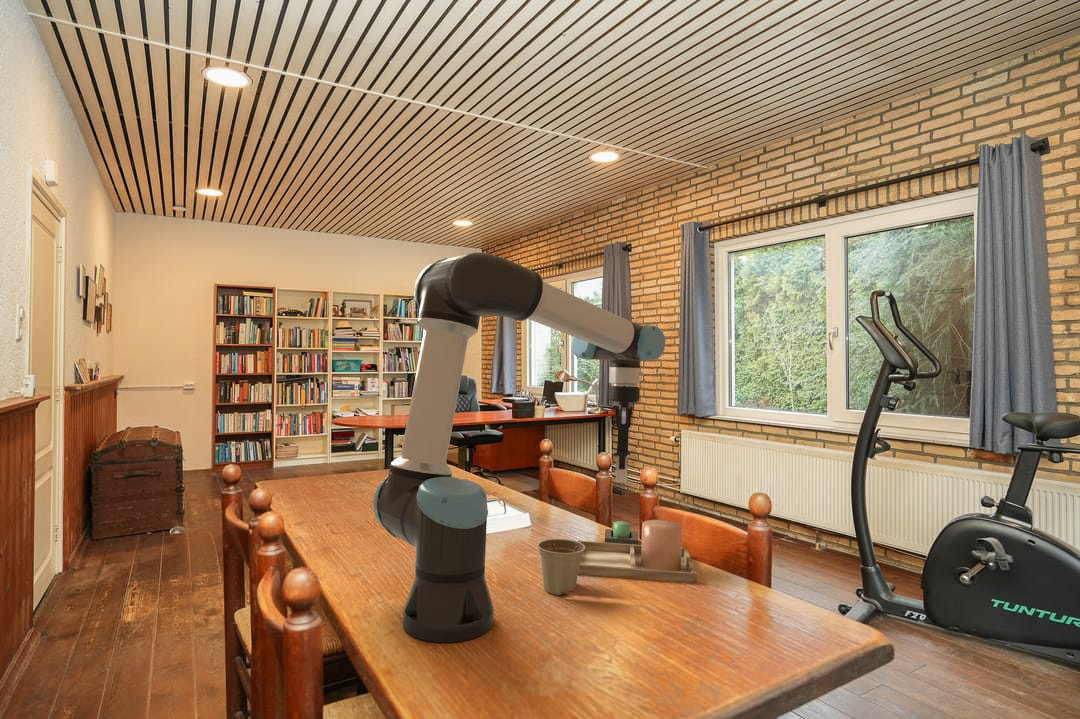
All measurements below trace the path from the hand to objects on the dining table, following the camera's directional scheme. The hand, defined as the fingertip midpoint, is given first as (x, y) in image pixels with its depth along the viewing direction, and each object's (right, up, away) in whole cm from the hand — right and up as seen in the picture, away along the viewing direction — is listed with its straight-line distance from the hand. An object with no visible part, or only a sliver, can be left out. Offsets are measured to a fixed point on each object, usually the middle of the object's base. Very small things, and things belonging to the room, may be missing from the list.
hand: (621, 482), depth 146 cm
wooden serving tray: (0, -16, -14) cm, 21 cm away
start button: (0, -15, +1) cm, 15 cm away
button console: (0, -16, +1) cm, 16 cm away
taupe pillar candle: (+7, -15, -15) cm, 23 cm away
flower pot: (-16, -16, -28) cm, 36 cm away
